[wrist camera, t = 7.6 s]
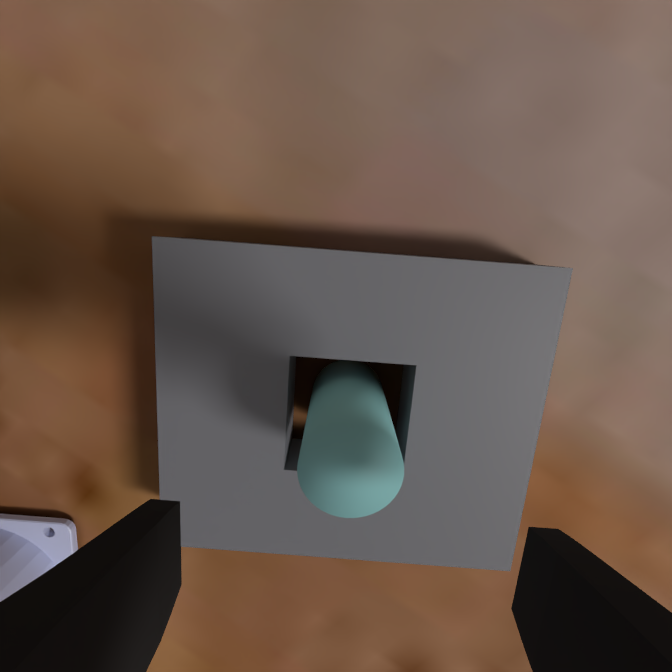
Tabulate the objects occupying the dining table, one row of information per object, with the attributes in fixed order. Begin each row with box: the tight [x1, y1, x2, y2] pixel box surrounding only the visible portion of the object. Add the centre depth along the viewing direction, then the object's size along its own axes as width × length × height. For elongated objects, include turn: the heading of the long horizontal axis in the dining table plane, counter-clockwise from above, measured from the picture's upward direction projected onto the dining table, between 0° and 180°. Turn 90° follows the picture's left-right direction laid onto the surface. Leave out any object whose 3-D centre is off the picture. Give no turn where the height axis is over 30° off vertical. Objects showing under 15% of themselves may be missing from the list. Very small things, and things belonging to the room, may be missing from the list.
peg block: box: [152, 236, 573, 571], centre depth 16 cm, size 14×12×2 cm
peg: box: [297, 360, 404, 518], centre depth 14 cm, size 3×3×6 cm
